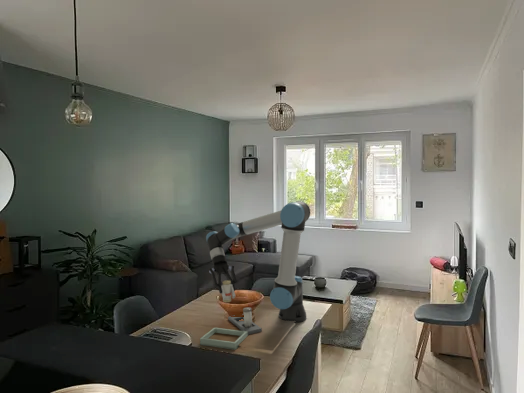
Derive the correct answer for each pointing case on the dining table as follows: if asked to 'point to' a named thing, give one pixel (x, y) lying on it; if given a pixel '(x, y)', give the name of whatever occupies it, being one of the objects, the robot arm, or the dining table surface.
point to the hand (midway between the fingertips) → (229, 297)
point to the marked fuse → (227, 290)
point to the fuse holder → (240, 325)
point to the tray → (223, 344)
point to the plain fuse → (247, 317)
